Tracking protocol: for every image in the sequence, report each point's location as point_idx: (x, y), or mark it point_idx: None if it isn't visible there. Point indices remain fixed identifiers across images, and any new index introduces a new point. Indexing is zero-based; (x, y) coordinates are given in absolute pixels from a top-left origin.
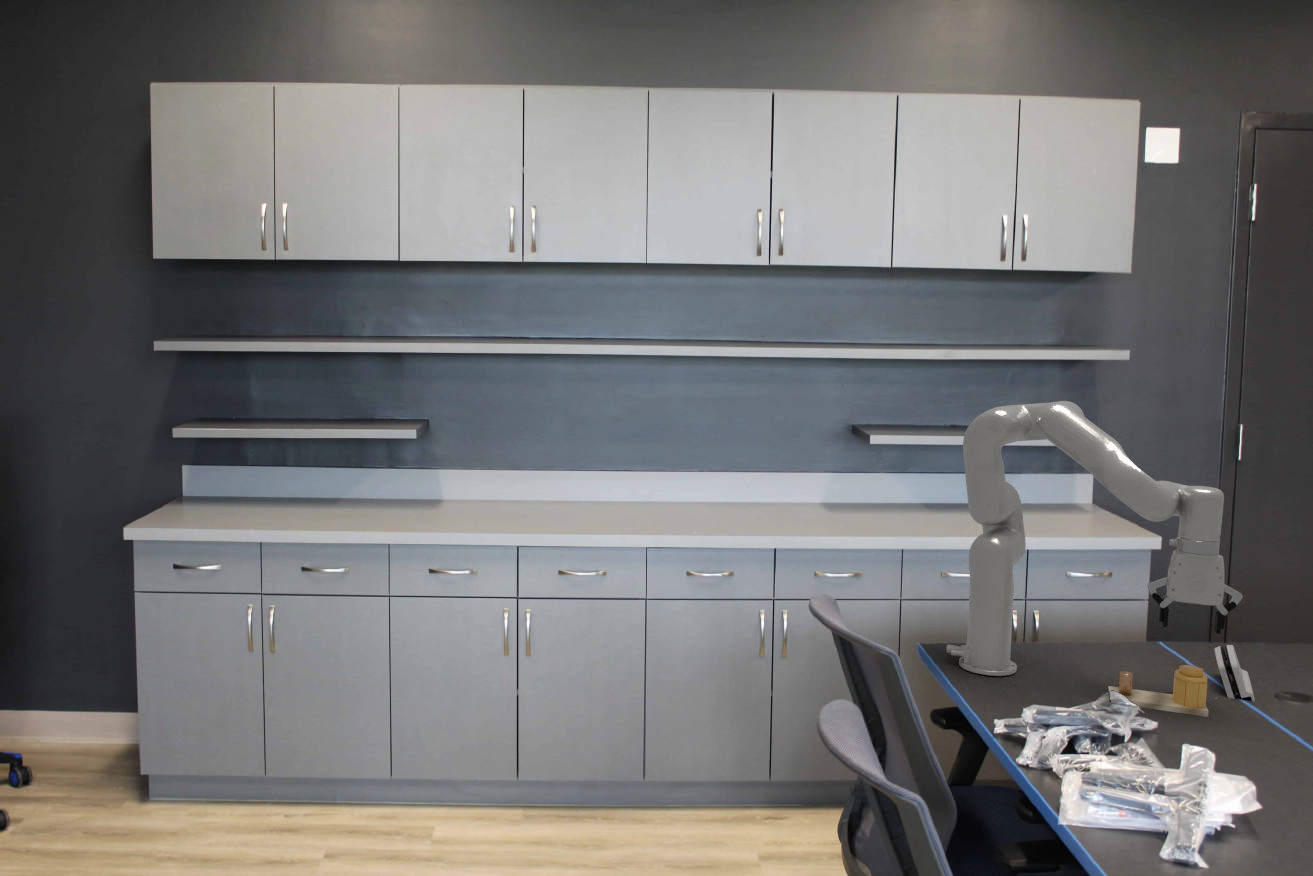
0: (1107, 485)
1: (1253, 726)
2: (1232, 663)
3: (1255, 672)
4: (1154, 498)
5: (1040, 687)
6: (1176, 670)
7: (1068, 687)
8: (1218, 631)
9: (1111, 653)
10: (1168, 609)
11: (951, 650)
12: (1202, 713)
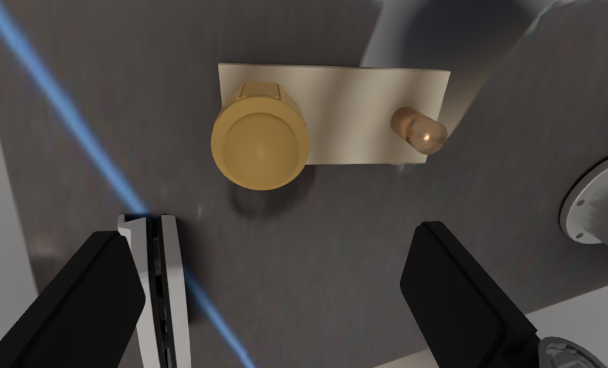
0: None
1: (106, 44)
2: (143, 285)
3: (133, 357)
4: None
5: (558, 124)
6: (301, 167)
7: (495, 149)
8: (102, 239)
9: (358, 340)
10: (499, 332)
11: None
12: (233, 63)
